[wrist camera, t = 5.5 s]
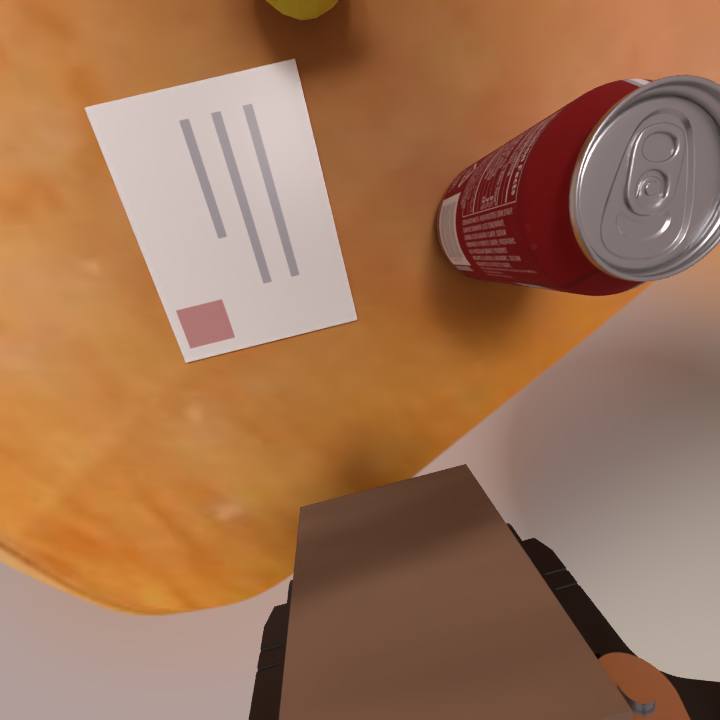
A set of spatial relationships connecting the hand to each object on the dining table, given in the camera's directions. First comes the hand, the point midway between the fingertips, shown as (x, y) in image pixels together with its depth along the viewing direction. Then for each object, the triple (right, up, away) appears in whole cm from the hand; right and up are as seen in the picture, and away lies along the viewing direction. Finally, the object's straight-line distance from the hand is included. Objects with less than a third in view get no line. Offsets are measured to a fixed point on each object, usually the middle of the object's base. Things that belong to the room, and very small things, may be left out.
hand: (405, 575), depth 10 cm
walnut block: (0, 0, +1) cm, 1 cm away
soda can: (+6, +15, +12) cm, 20 cm away
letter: (-8, +14, +10) cm, 19 cm away
